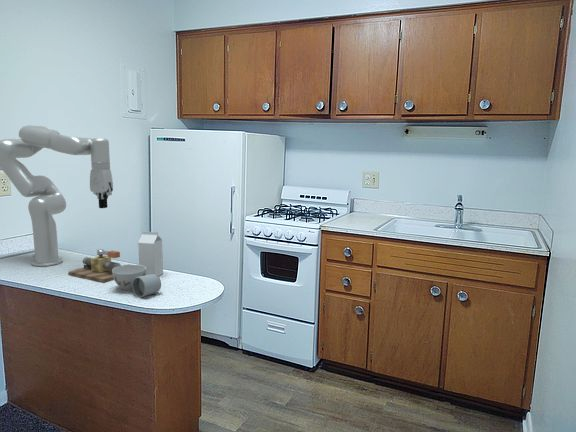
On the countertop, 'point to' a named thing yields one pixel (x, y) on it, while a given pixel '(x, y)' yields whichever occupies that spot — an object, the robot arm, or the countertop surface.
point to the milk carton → (151, 253)
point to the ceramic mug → (146, 285)
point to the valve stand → (96, 269)
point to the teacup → (127, 275)
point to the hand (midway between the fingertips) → (103, 207)
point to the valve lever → (109, 253)
